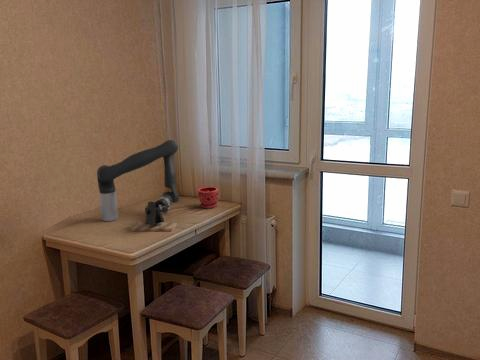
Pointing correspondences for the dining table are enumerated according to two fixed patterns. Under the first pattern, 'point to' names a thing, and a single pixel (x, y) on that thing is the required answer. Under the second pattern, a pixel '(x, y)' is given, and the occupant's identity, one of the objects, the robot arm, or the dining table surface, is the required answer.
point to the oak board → (153, 227)
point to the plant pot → (208, 197)
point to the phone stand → (153, 214)
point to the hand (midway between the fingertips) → (152, 212)
